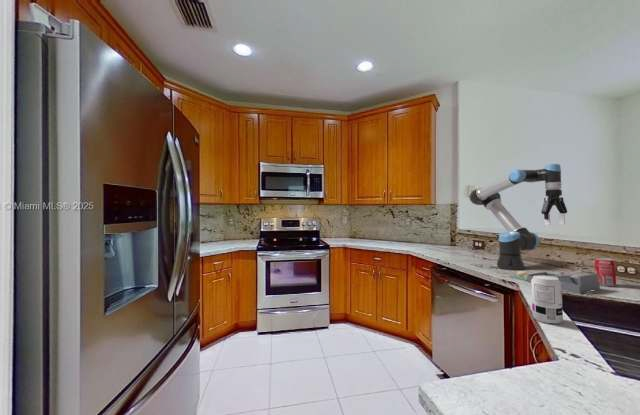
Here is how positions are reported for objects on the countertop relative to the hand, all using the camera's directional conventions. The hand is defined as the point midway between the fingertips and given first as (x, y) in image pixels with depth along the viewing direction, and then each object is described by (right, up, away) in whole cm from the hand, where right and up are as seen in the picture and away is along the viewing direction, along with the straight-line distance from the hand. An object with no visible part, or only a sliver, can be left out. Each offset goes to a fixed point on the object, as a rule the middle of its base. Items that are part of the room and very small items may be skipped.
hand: (554, 224), depth 168 cm
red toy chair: (-1, -28, -31) cm, 42 cm away
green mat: (-28, -29, -13) cm, 42 cm away
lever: (-21, -24, -30) cm, 45 cm away
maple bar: (-27, -29, -14) cm, 42 cm away
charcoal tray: (-22, -29, -29) cm, 47 cm away
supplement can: (-63, -30, -71) cm, 99 cm away
